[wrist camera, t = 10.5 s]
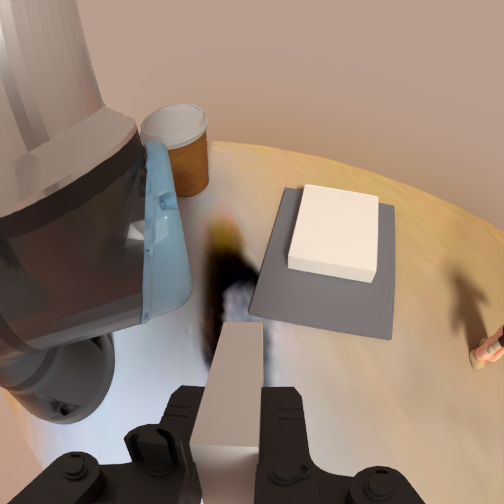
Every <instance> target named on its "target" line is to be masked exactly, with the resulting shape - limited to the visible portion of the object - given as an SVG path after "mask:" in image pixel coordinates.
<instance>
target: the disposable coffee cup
mask: <svg viewBox="0 0 504 504" xmlns="http://www.w3.org/2000/svg"><path fill="white" fill-rule="evenodd" d="M207 125H208V117H207V116H206V114H204V112H203V110H202V109H201V108H200V107H199V106H197V105H194V104H174V105H170V106H166V107H164V108H161V109H159V110H157V111H155V112H153V113H152V114H150V115H149V116H148V117H147V118H146V119H145V120H144V121H143V123H142V125H141V133H140V138H141V140H142V142H143V143H144V144H145V143H147V142H149V141H153V142H162V143H164V144H165V145H166V147H167V150H168V154H169V159H170V163H171V168H172V174H173V179H174V187H175V192H176V196H179V197H189V196H193V195H196V194H198V193H200V192H201V191H203V190H204V189H205V188H206V186H207V185H208V181H209V178H208V161H207V142H206V129H207Z"/></svg>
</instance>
